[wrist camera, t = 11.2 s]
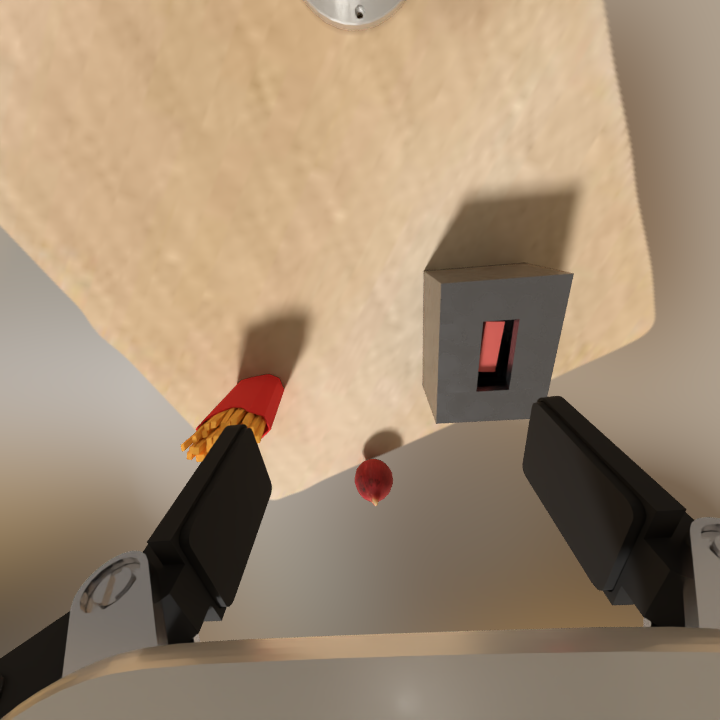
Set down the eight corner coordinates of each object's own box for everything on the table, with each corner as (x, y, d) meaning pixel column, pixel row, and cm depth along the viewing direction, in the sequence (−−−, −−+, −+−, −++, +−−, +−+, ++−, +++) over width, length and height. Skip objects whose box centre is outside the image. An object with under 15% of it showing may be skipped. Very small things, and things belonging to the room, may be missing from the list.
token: (461, 351, 39) (468, 307, 36) (476, 351, 39) (484, 307, 36) (477, 371, 33) (486, 321, 31) (494, 371, 33) (504, 321, 31)
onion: (349, 464, 48) (345, 506, 41) (368, 442, 46) (369, 482, 39) (377, 479, 50) (379, 523, 42) (397, 458, 48) (403, 500, 40)
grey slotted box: (423, 271, 35) (440, 283, 27) (524, 262, 35) (573, 273, 26) (422, 385, 42) (436, 423, 34) (507, 380, 41) (542, 418, 33)
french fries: (282, 370, 41) (249, 426, 29) (292, 395, 43) (264, 458, 31) (224, 382, 42) (168, 442, 31) (235, 406, 44) (187, 472, 32)
